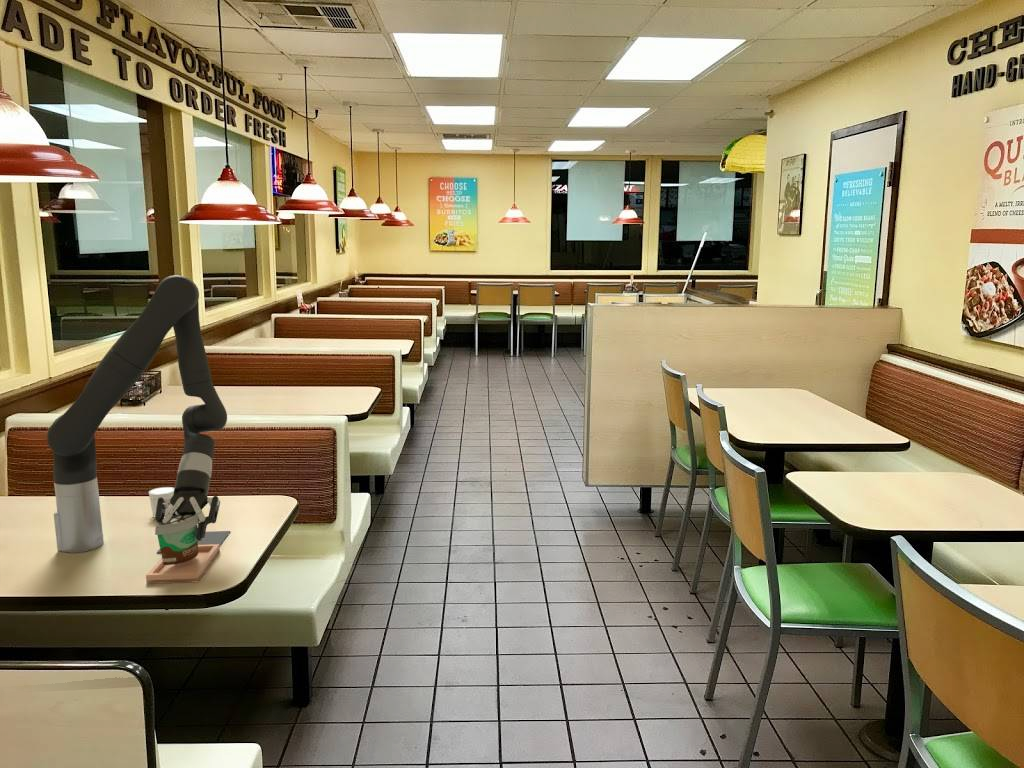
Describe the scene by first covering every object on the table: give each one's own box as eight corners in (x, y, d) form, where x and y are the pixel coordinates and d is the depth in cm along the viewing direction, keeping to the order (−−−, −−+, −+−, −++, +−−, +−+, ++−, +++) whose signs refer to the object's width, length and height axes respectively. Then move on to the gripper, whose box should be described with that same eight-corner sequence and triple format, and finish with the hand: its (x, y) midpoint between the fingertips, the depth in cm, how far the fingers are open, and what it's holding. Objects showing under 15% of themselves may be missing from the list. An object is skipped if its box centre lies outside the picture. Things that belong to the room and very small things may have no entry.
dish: (146, 583, 170) (145, 575, 169) (173, 553, 186) (172, 545, 186) (198, 581, 170) (197, 573, 170) (219, 551, 187) (219, 544, 187)
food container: (184, 569, 172) (179, 527, 170) (159, 567, 173) (154, 526, 171) (214, 546, 184) (209, 507, 182) (190, 545, 185) (186, 506, 183)
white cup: (171, 518, 210) (168, 494, 209) (146, 518, 210) (143, 494, 209) (181, 510, 217) (180, 486, 216) (157, 510, 217) (155, 486, 216)
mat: (156, 553, 186) (156, 552, 186) (175, 533, 199) (174, 532, 199) (216, 551, 188) (216, 550, 188) (230, 531, 200) (230, 530, 200)
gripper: (158, 469, 182) (144, 534, 173) (220, 467, 183) (210, 532, 174) (167, 483, 188) (154, 547, 179) (228, 481, 189) (218, 545, 180)
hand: (182, 539), depth 176 cm, fingers closed on food container, 7 cm apart
